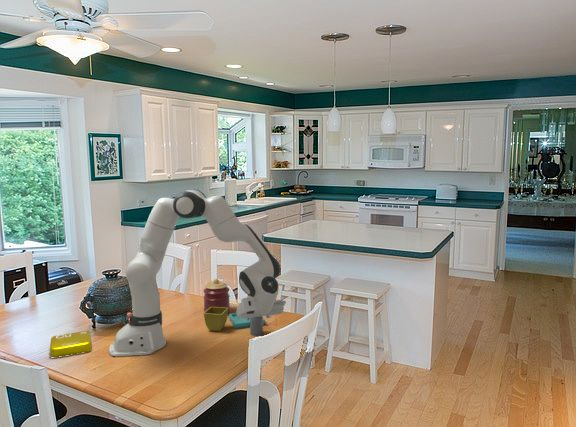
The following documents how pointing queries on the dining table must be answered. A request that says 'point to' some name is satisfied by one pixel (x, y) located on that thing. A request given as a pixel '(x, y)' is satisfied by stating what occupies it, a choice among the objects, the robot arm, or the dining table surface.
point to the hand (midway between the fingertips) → (257, 317)
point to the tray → (240, 322)
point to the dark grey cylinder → (256, 326)
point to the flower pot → (215, 318)
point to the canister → (216, 295)
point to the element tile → (70, 344)
